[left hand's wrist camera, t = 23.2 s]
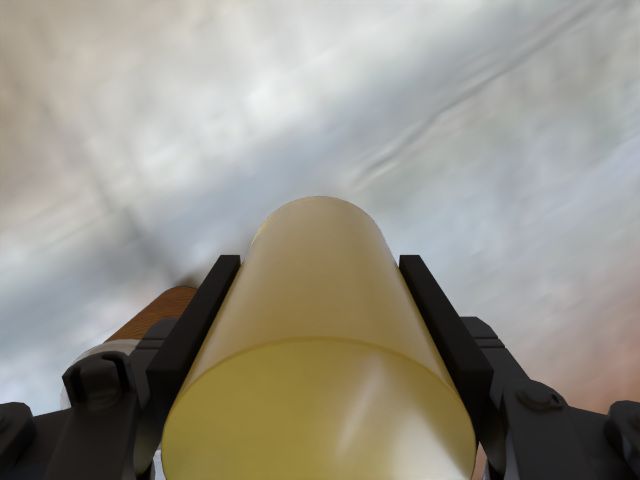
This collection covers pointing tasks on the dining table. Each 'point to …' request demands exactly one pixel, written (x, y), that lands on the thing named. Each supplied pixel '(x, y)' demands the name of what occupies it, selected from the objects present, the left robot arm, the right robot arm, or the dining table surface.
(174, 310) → the disposable coffee cup
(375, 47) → the dining table surface
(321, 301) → the can
